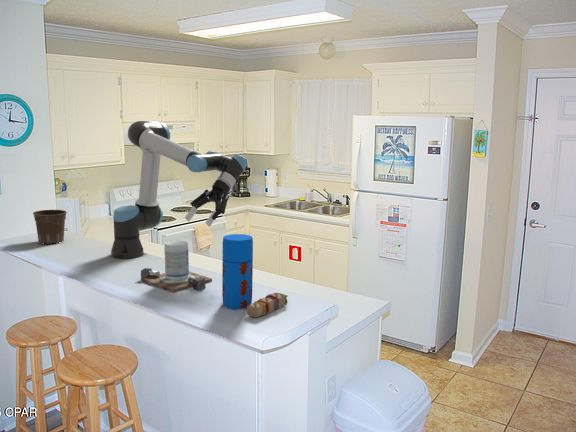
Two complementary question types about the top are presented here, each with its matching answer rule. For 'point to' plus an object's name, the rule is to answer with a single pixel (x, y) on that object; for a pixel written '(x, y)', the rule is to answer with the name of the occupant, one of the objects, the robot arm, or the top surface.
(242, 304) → the thermos
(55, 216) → the plant pot
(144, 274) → the shaft
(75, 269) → the top surface
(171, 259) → the supplement tub
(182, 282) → the board
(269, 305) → the skewer
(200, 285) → the shaft
